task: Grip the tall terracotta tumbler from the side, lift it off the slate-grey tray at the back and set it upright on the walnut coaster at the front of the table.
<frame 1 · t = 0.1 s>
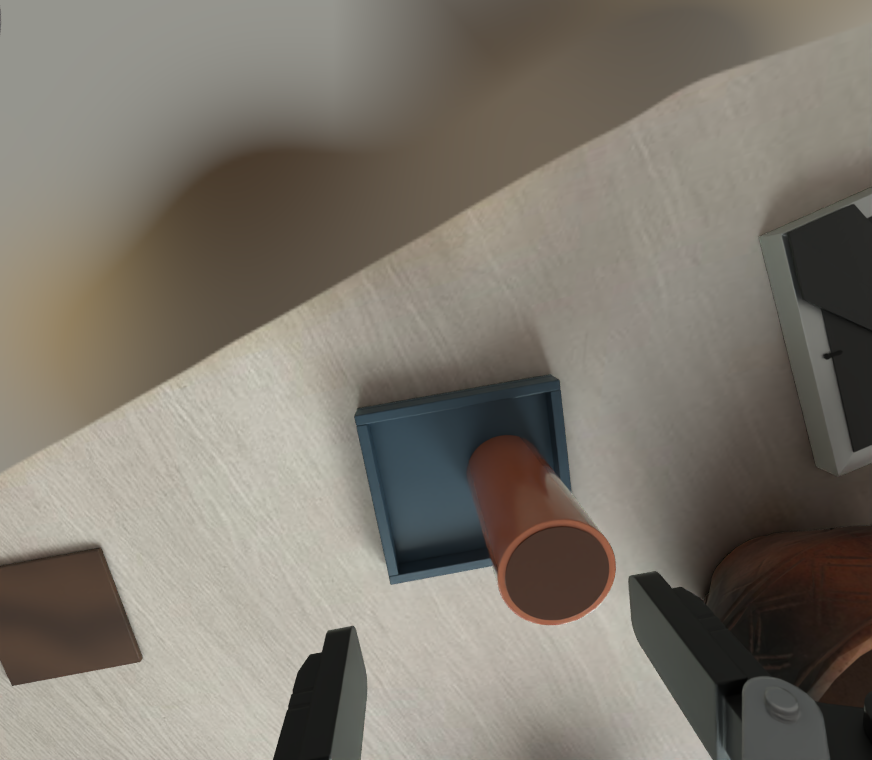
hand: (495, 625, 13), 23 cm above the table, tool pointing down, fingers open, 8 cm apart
coaster: (57, 616, 37), on the table
bowl: (769, 591, 41), on the table
tumbler: (505, 471, 36), point 1 cm above the table, touching tray
tray: (468, 475, 37), on the table
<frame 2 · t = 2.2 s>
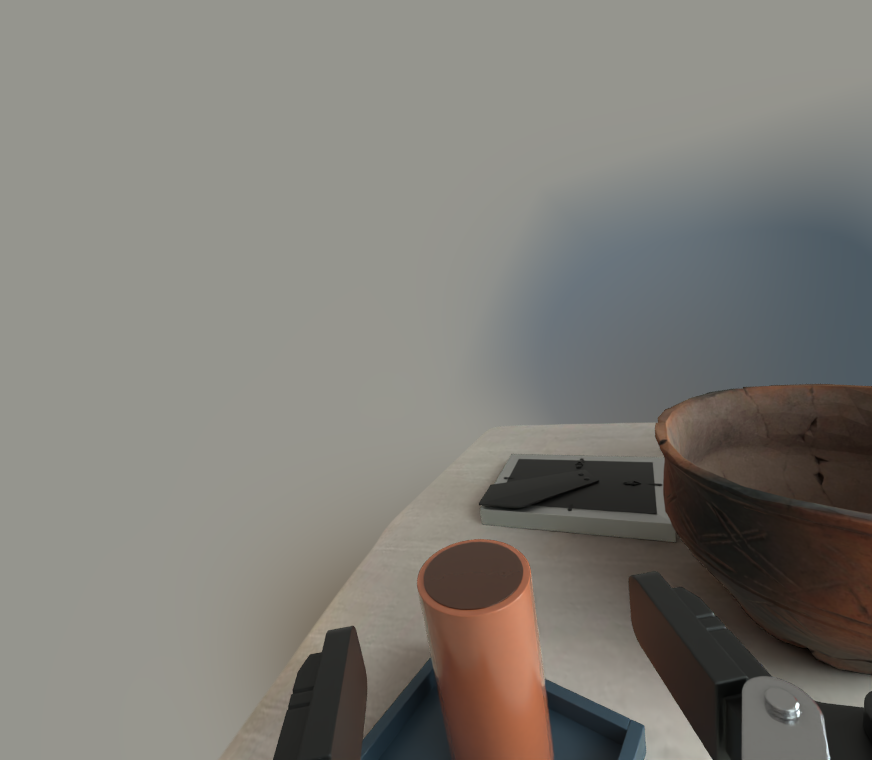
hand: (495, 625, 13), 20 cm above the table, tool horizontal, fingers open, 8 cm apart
picture frame: (578, 498, 56), on the table
bowl: (838, 610, 35), on the table
tumbler: (501, 750, 28), point 1 cm above the table, touching tray
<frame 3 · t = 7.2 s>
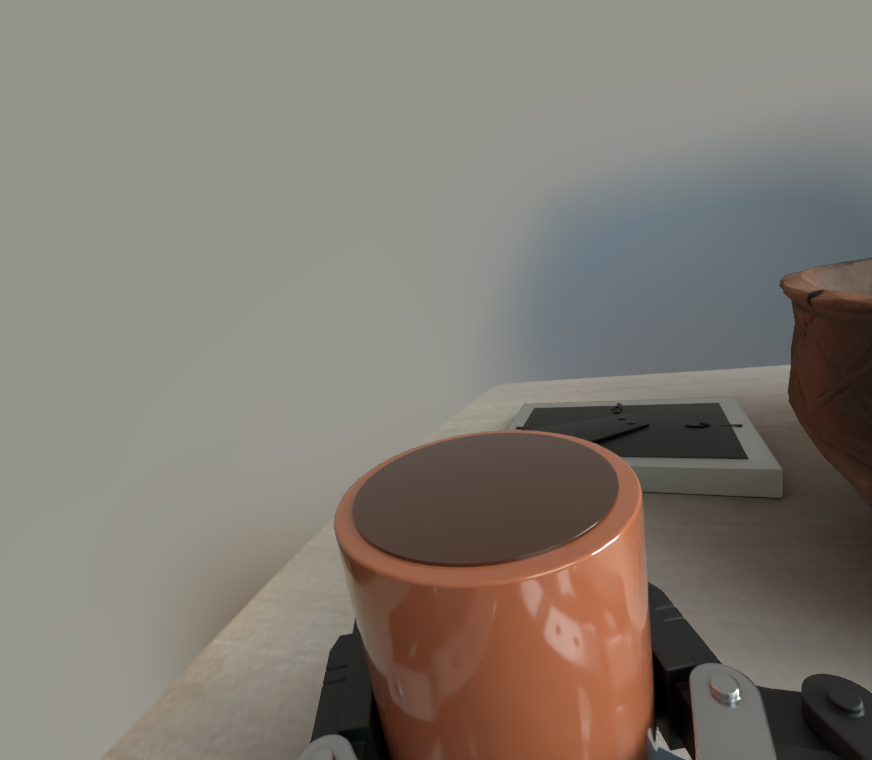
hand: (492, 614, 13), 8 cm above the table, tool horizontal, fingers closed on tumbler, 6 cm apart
picture frame: (619, 450, 41), on the table
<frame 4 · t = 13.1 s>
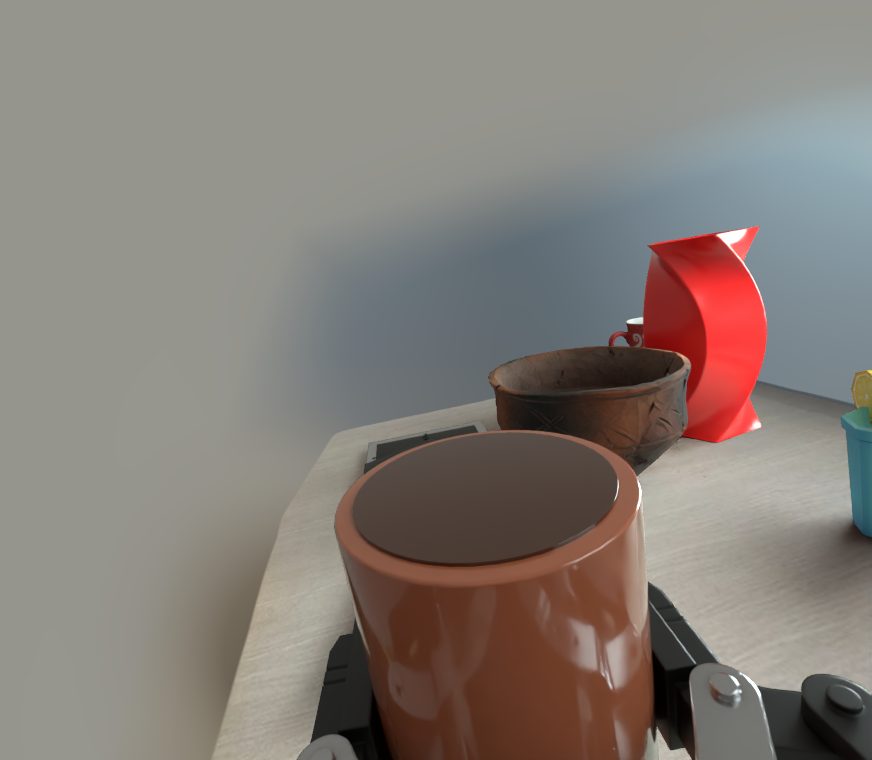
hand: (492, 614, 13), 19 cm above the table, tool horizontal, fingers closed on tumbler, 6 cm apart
picture frame: (431, 460, 73), on the table
bowl: (593, 471, 61), on the table
vase: (698, 425, 69), on the table
mug: (644, 386, 91), on the table
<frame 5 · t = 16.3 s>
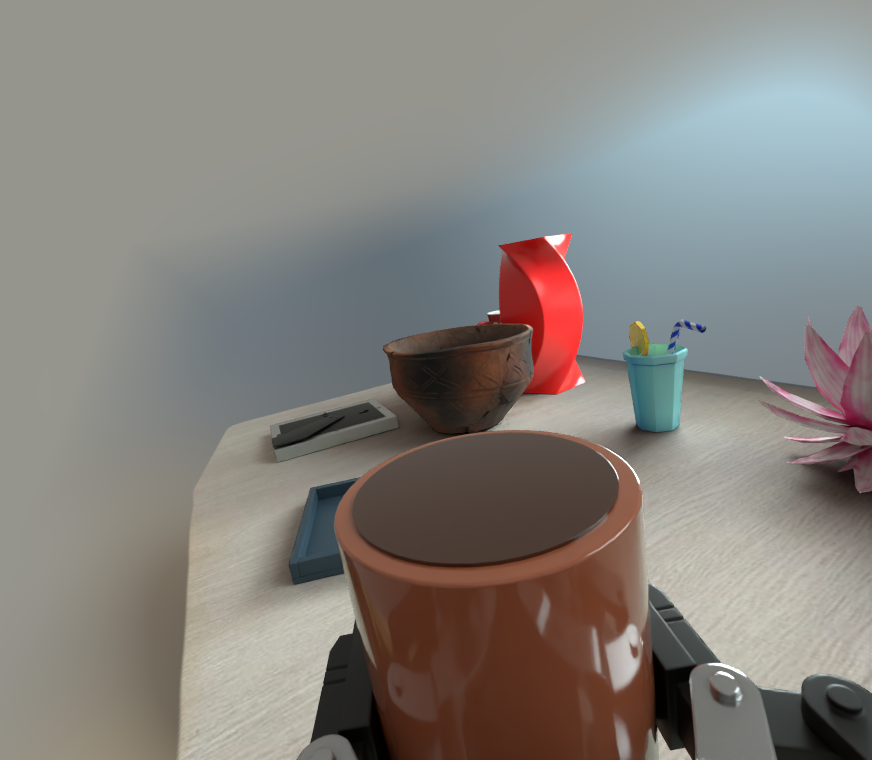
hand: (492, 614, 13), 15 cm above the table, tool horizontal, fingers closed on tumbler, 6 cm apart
picture frame: (333, 432, 82), on the table
bowl: (470, 421, 76), on the table
vase: (543, 386, 89), on the table
cup: (662, 428, 61), on the table
tray: (372, 522, 49), on the table
when the fingers open (8 cm above the table, at t = 18.9 s): tumbler stays where it is, resting on coaster.
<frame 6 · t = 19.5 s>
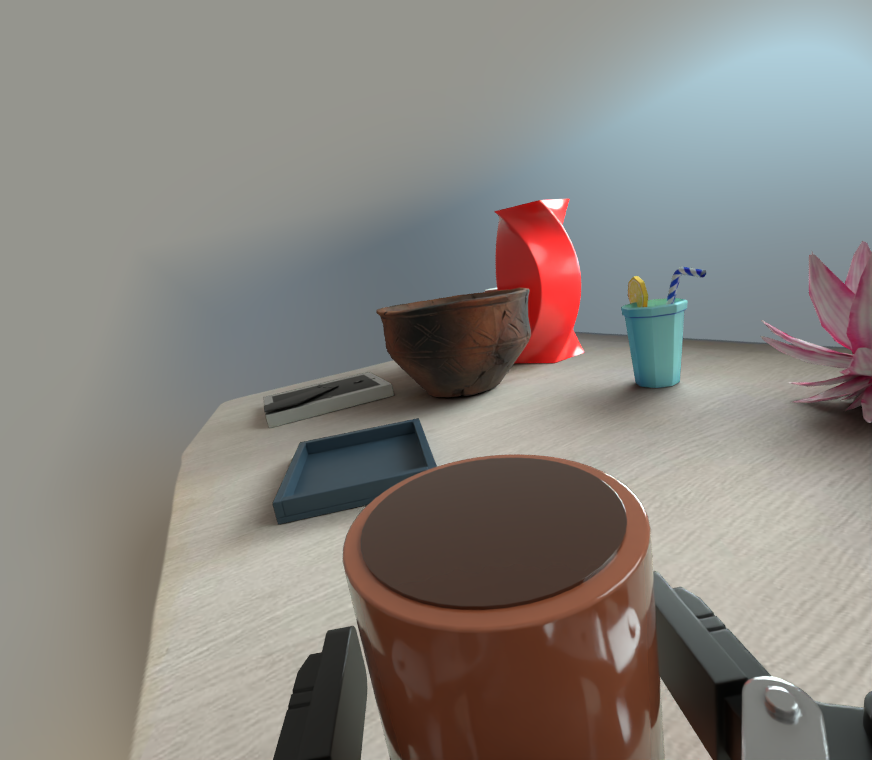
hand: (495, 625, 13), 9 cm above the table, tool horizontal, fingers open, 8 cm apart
picture frame: (327, 402, 80), on the table
bowl: (466, 388, 74), on the table
vase: (541, 357, 88), on the table
cup: (662, 384, 59), on the table
tray: (362, 471, 47), on the table
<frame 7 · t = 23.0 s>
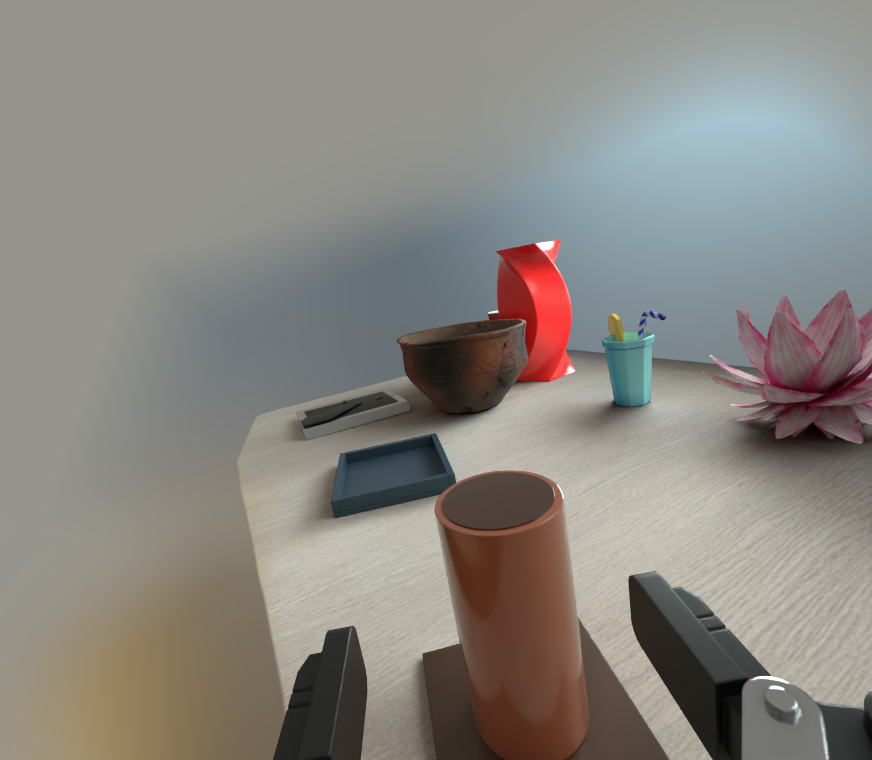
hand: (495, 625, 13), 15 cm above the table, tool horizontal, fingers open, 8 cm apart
coaster: (528, 710, 25), on the table
picture frame: (352, 417, 93), on the table
bowl: (473, 404, 87), on the table
tumbler: (529, 706, 25), resting on coaster
vase: (538, 375, 100), on the table
cup: (636, 403, 72), on the table
tray: (393, 476, 60), on the table
decorative flower: (810, 427, 53), on the table
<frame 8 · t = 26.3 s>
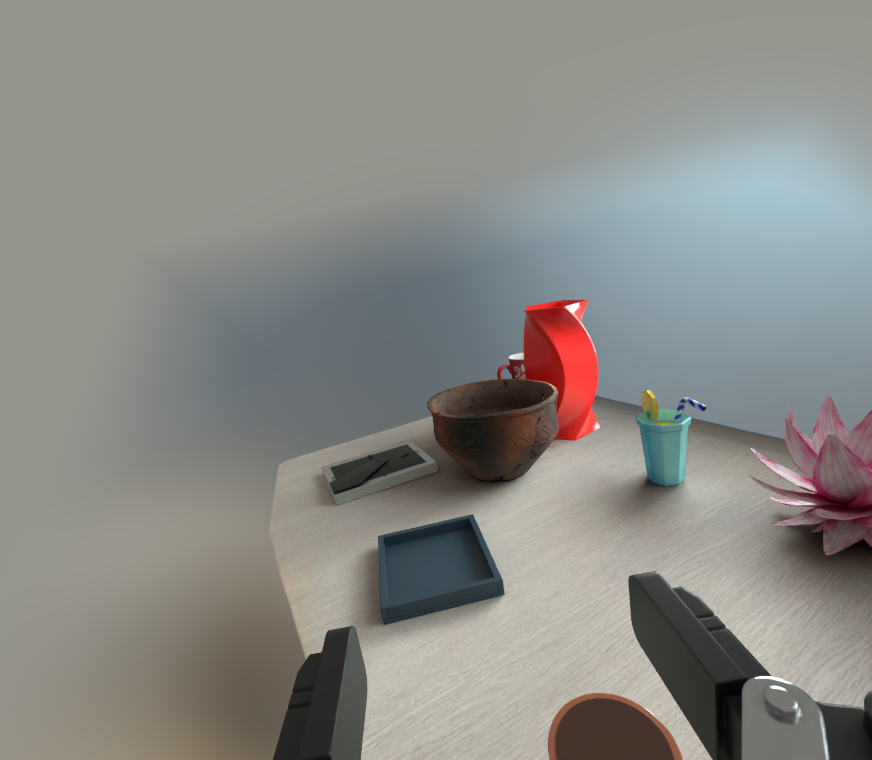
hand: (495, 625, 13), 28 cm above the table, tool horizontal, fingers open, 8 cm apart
picture frame: (379, 474, 93), on the table
bowl: (501, 467, 87), on the table
vase: (562, 429, 100), on the table
mug: (524, 404, 123), on the table
cup: (670, 481, 72), on the table
tray: (435, 568, 60), on the table
decorative flower: (855, 534, 54), on the table
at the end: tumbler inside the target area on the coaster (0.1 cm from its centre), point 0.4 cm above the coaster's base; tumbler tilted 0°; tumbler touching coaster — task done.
